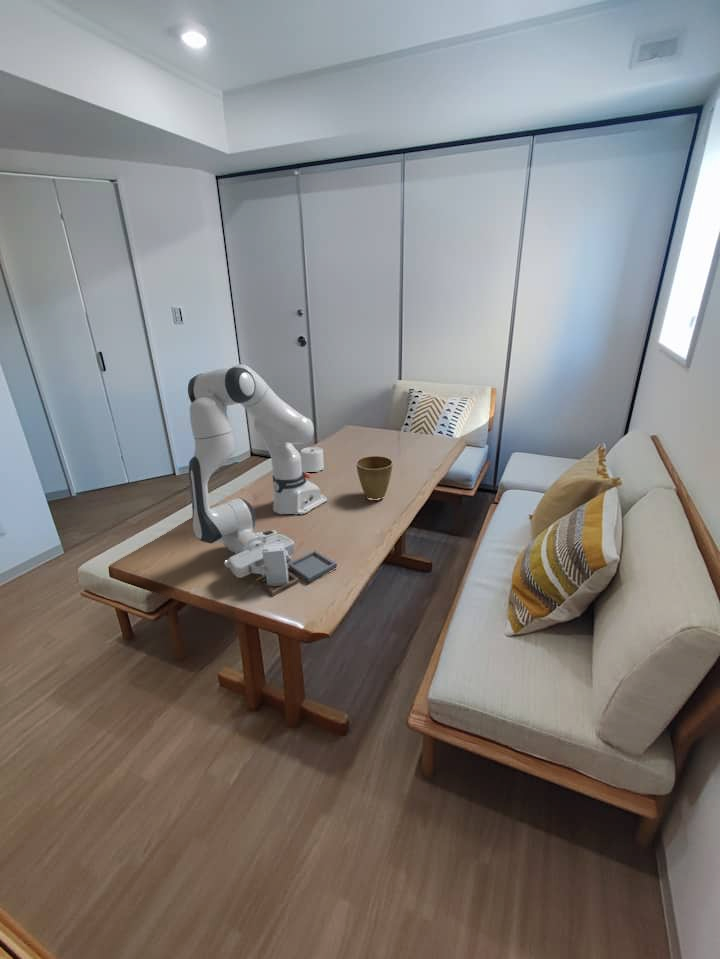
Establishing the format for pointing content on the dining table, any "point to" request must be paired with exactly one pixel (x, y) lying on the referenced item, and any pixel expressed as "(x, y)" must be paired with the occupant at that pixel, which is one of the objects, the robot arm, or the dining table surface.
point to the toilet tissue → (312, 459)
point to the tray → (311, 566)
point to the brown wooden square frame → (280, 589)
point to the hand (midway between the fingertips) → (277, 566)
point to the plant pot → (374, 475)
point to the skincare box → (275, 564)
